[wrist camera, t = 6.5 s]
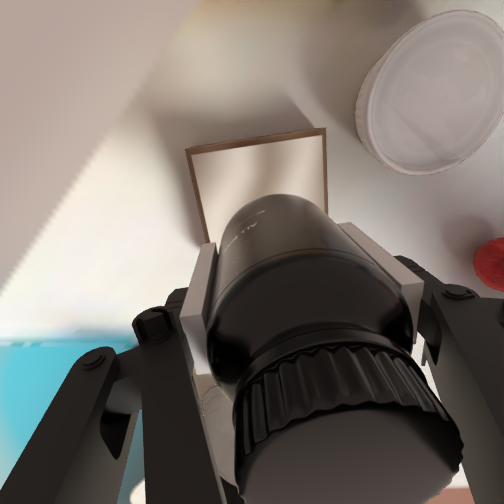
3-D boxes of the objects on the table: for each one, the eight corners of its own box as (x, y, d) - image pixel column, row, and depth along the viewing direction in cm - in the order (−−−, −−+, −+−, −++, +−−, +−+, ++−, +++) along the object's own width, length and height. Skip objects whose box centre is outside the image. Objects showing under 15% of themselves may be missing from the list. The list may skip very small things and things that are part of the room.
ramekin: (336, 169, 28) (357, 177, 23) (351, 33, 23) (381, 8, 18) (443, 167, 28) (486, 175, 23) (478, 33, 24) (540, 8, 19)
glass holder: (272, 395, 41) (289, 530, 27) (223, 448, 45) (216, 586, 31) (221, 374, 38) (211, 509, 25) (175, 431, 43) (145, 572, 29)
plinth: (315, 128, 26) (327, 127, 22) (320, 243, 31) (331, 258, 27) (191, 147, 26) (183, 149, 23) (215, 258, 31) (212, 275, 27)
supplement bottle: (218, 189, 15) (171, 348, 4) (340, 193, 15) (602, 346, 4) (219, 295, 18) (192, 564, 7) (323, 296, 18) (456, 550, 7)
